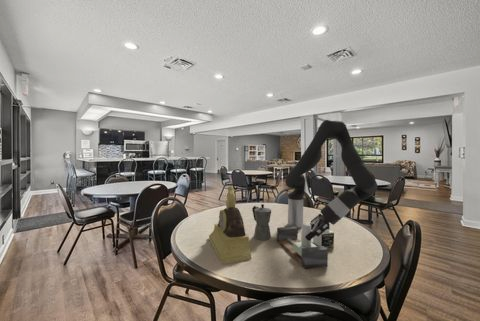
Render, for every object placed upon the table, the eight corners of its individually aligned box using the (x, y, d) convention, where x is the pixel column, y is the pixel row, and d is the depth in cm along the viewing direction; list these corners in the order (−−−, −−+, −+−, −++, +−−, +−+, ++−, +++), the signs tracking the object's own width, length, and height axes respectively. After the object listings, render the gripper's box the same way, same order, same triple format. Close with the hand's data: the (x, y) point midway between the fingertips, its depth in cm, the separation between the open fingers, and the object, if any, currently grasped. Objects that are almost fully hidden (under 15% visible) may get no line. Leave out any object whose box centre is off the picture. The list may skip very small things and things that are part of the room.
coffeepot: (277, 239, 114) (277, 205, 113) (263, 243, 109) (263, 208, 108) (259, 230, 127) (259, 200, 126) (246, 233, 122) (246, 202, 121)
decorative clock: (209, 238, 114) (208, 183, 114) (231, 235, 119) (232, 182, 118) (222, 264, 88) (222, 191, 87) (251, 259, 92) (251, 190, 91)
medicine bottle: (321, 248, 103) (321, 223, 103) (312, 242, 110) (313, 219, 110) (334, 246, 105) (334, 222, 105) (324, 240, 112) (325, 218, 111)
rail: (277, 241, 111) (277, 227, 111) (294, 239, 114) (294, 226, 113) (305, 269, 84) (305, 251, 84) (327, 266, 86) (327, 249, 86)
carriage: (293, 249, 96) (293, 222, 96) (309, 247, 98) (309, 221, 97) (302, 257, 88) (302, 228, 88) (319, 255, 90) (320, 227, 90)
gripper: (325, 200, 97) (299, 223, 100) (331, 208, 83) (300, 234, 86) (338, 212, 96) (311, 235, 99) (345, 222, 82) (314, 248, 85)
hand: (306, 235), depth 93 cm, fingers open, 8 cm apart
